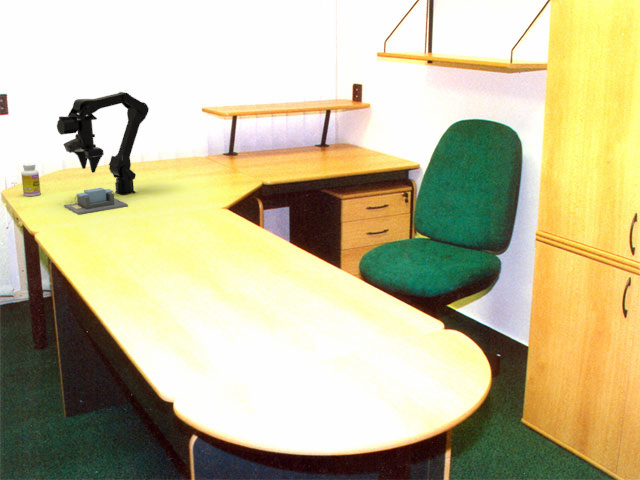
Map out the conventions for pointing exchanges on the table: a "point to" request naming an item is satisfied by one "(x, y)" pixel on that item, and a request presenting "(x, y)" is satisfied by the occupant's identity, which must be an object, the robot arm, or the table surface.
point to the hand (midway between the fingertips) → (88, 170)
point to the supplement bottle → (30, 180)
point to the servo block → (95, 194)
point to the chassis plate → (95, 205)
